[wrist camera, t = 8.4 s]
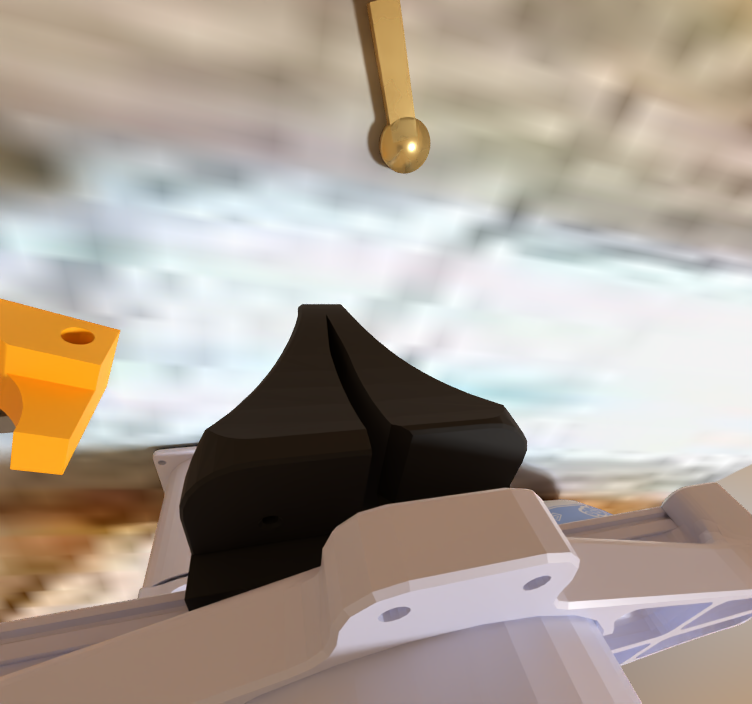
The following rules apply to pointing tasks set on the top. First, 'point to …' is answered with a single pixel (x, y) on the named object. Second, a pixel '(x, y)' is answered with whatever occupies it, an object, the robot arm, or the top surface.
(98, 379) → the pipe clamp
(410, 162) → the brass spoon
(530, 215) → the top surface
